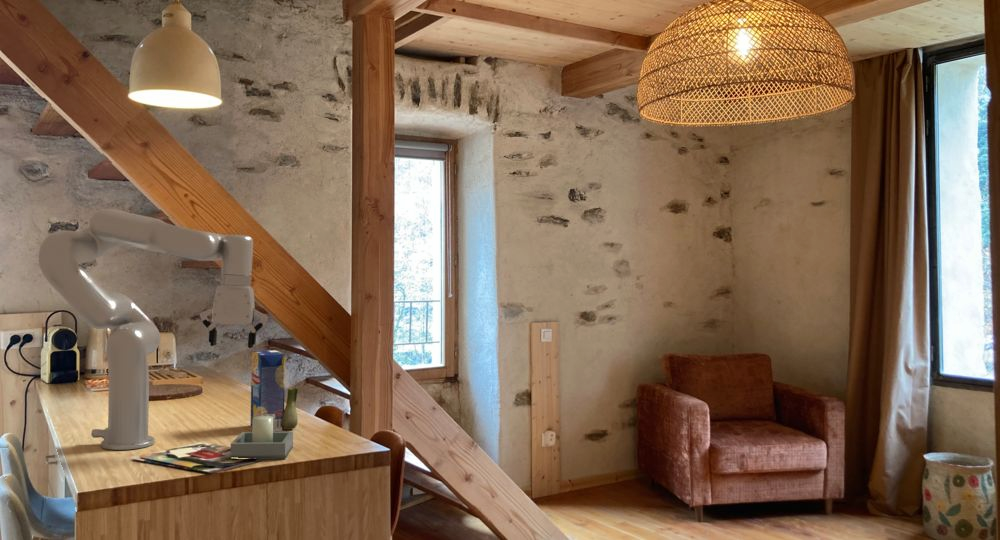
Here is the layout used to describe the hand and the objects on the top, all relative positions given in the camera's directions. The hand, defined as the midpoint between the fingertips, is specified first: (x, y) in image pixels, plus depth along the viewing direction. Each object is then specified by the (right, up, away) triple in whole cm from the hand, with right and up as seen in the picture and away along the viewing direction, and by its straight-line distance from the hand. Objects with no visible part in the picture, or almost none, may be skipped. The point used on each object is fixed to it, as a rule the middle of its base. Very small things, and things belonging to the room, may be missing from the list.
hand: (231, 346), depth 206 cm
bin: (+11, -26, -8) cm, 29 cm away
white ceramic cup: (+10, -25, -8) cm, 28 cm away
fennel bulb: (+9, -26, +20) cm, 34 cm away
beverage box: (+3, -26, +21) cm, 34 cm away
